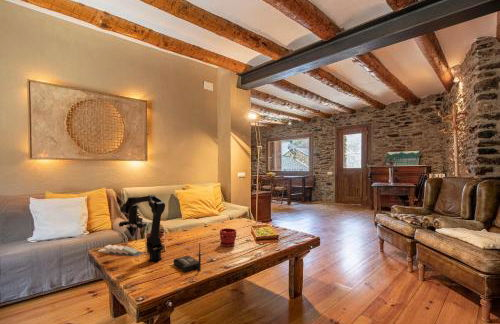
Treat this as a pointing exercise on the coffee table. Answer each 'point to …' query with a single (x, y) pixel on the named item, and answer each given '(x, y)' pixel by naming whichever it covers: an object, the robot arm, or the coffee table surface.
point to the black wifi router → (188, 263)
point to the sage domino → (130, 250)
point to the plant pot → (227, 237)
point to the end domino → (104, 251)
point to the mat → (126, 254)
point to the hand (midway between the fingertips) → (132, 236)
